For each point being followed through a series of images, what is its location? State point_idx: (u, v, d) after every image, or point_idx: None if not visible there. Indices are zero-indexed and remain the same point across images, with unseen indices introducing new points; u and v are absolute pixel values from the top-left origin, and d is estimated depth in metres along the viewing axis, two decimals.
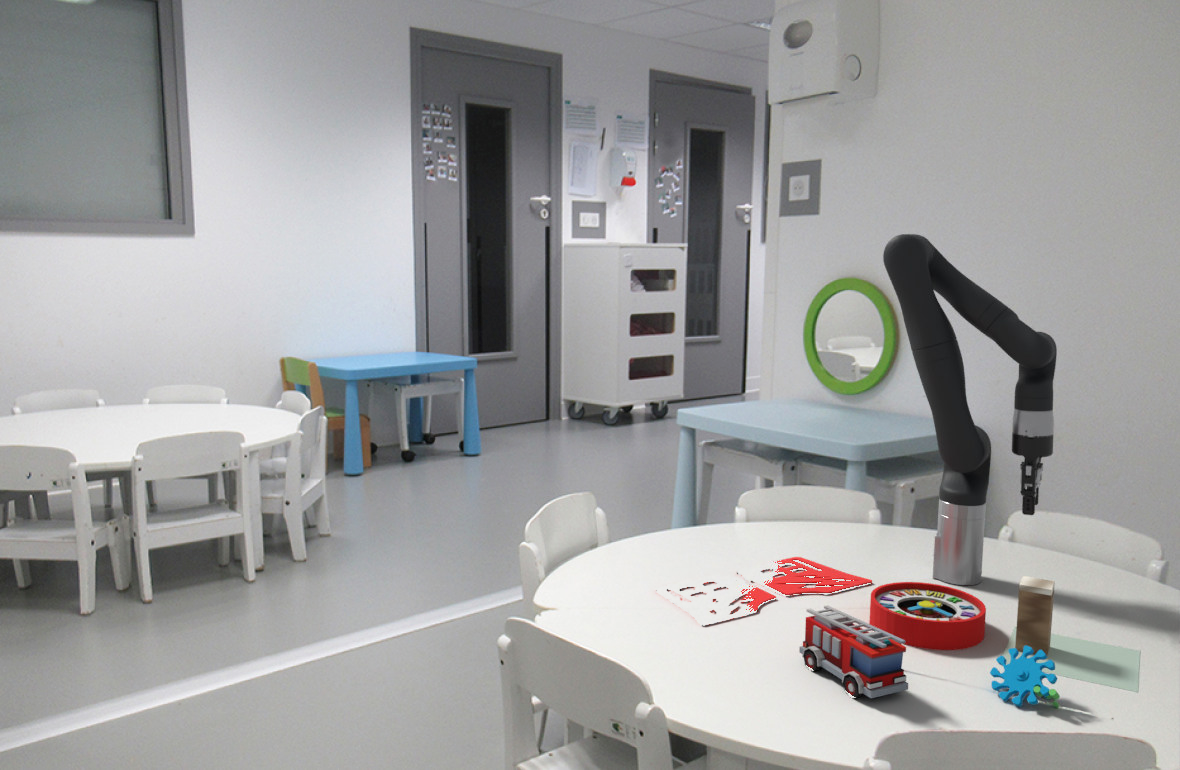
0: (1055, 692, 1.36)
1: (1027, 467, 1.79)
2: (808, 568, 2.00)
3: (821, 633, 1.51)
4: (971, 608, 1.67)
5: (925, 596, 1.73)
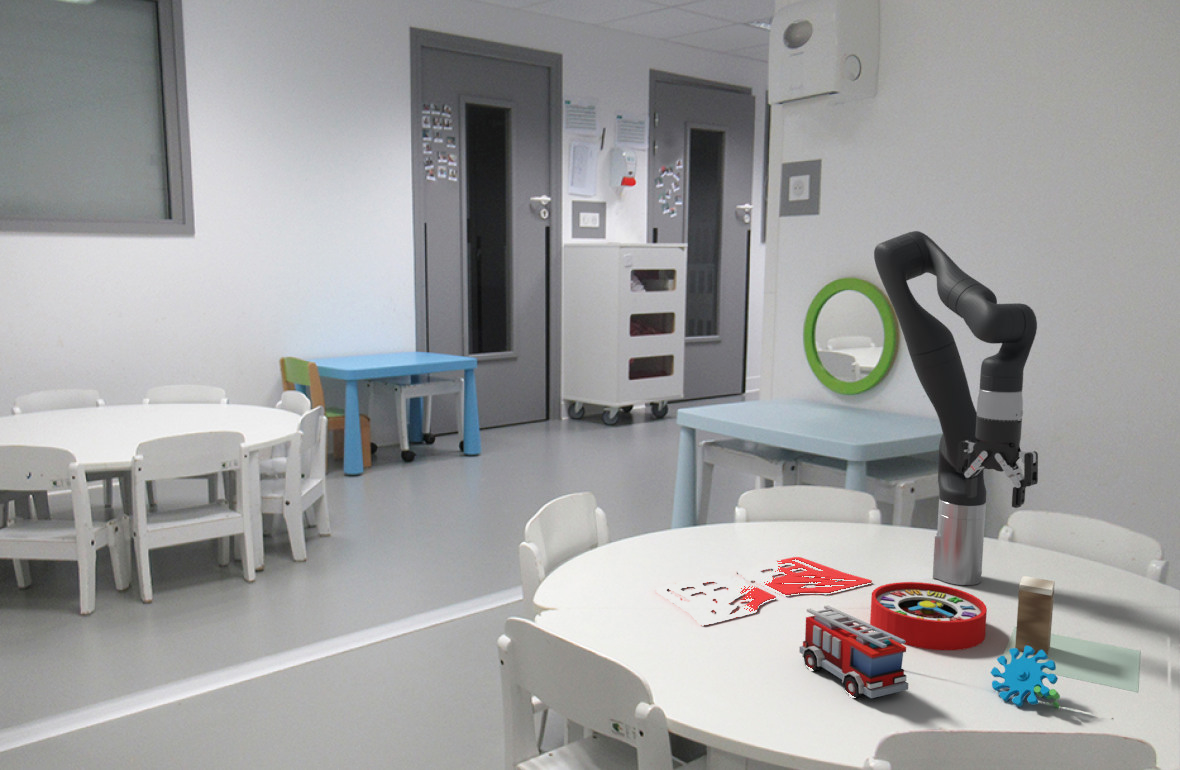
0: (1055, 692, 1.36)
1: (1033, 454, 1.59)
2: (808, 568, 2.00)
3: (821, 633, 1.51)
4: (972, 608, 1.67)
5: (925, 596, 1.73)
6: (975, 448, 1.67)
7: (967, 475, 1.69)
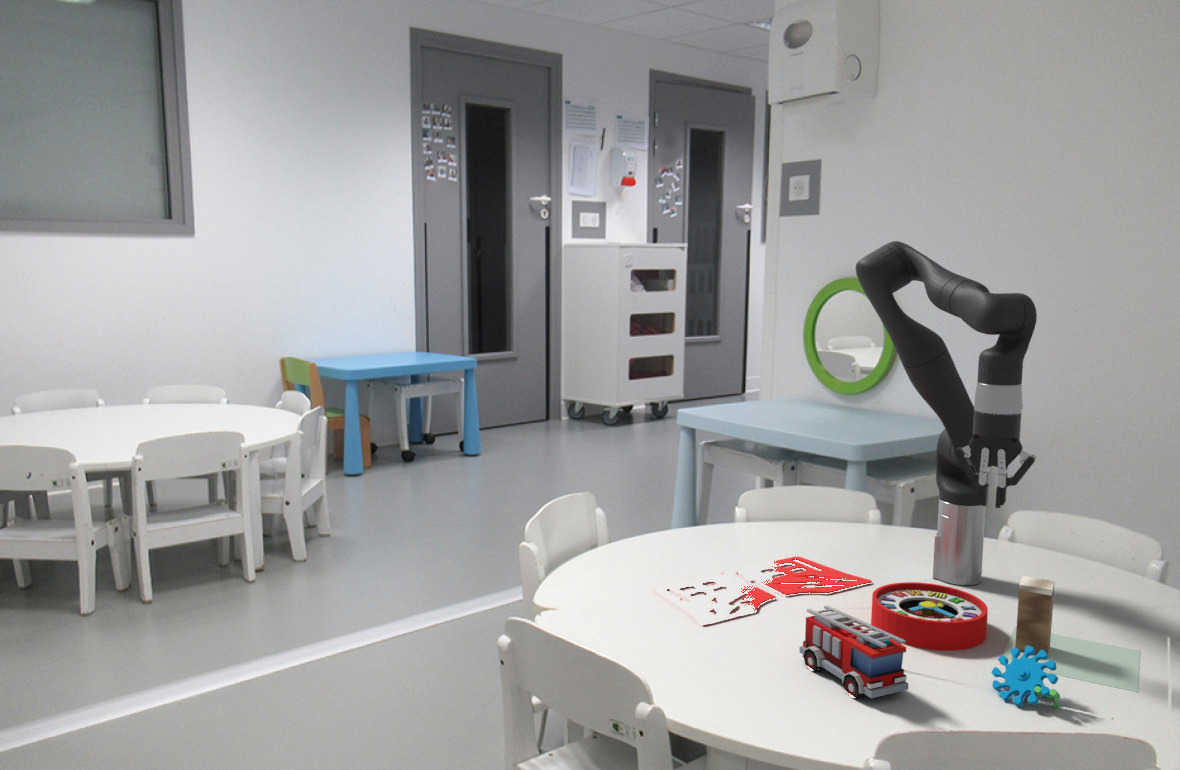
0: (1055, 692, 1.36)
1: (1034, 460, 1.55)
2: (808, 568, 2.00)
3: (821, 633, 1.51)
4: (973, 608, 1.67)
5: (927, 597, 1.73)
6: (973, 447, 1.59)
7: (983, 482, 1.59)
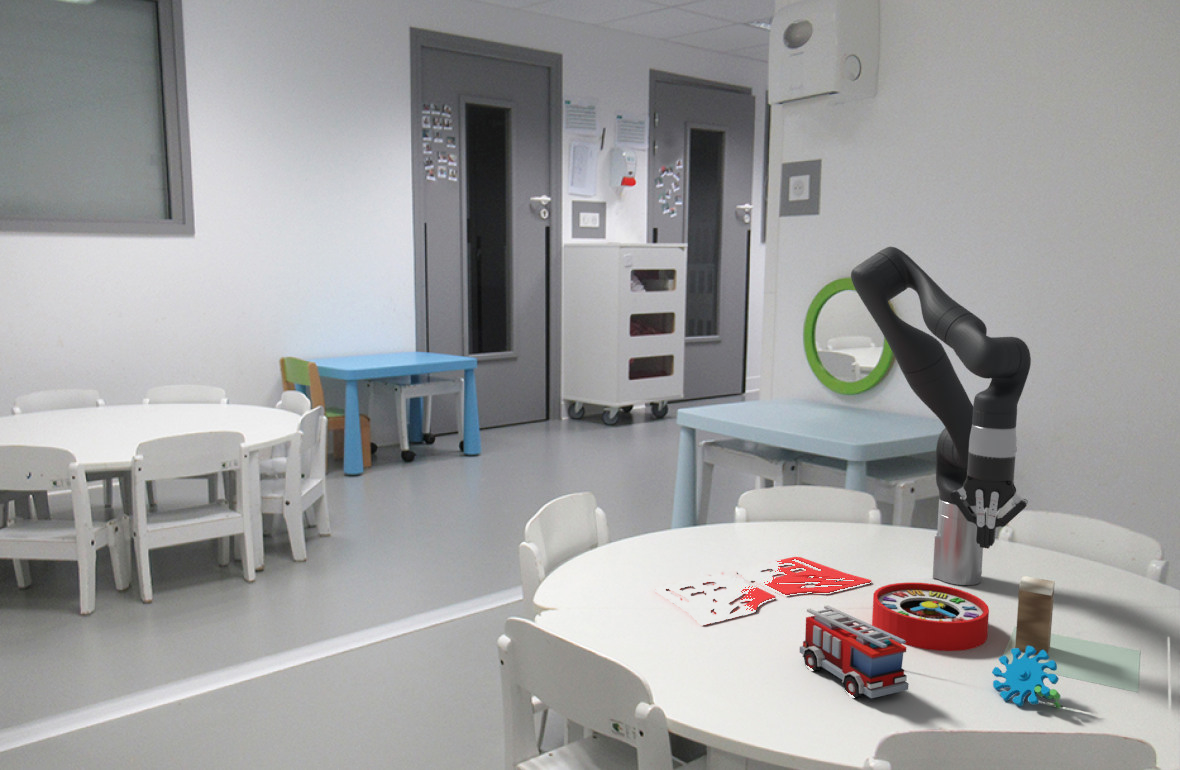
0: (1056, 692, 1.36)
1: (1026, 505, 1.57)
2: (807, 568, 2.00)
3: (821, 633, 1.51)
4: (974, 609, 1.67)
5: (928, 597, 1.73)
6: (967, 488, 1.61)
7: (981, 524, 1.60)
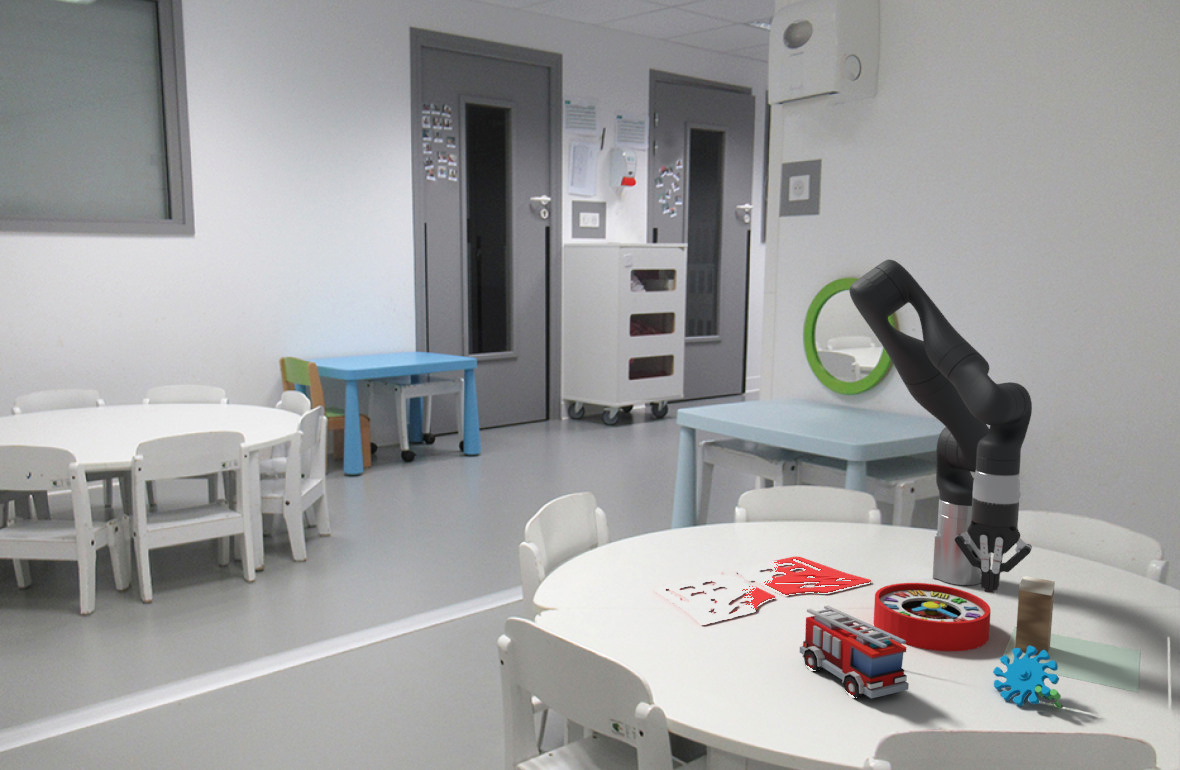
0: (1056, 692, 1.36)
1: (1030, 550, 1.57)
2: (807, 568, 2.00)
3: (821, 633, 1.51)
4: (976, 609, 1.67)
5: (929, 597, 1.73)
6: (972, 533, 1.61)
7: (985, 569, 1.60)
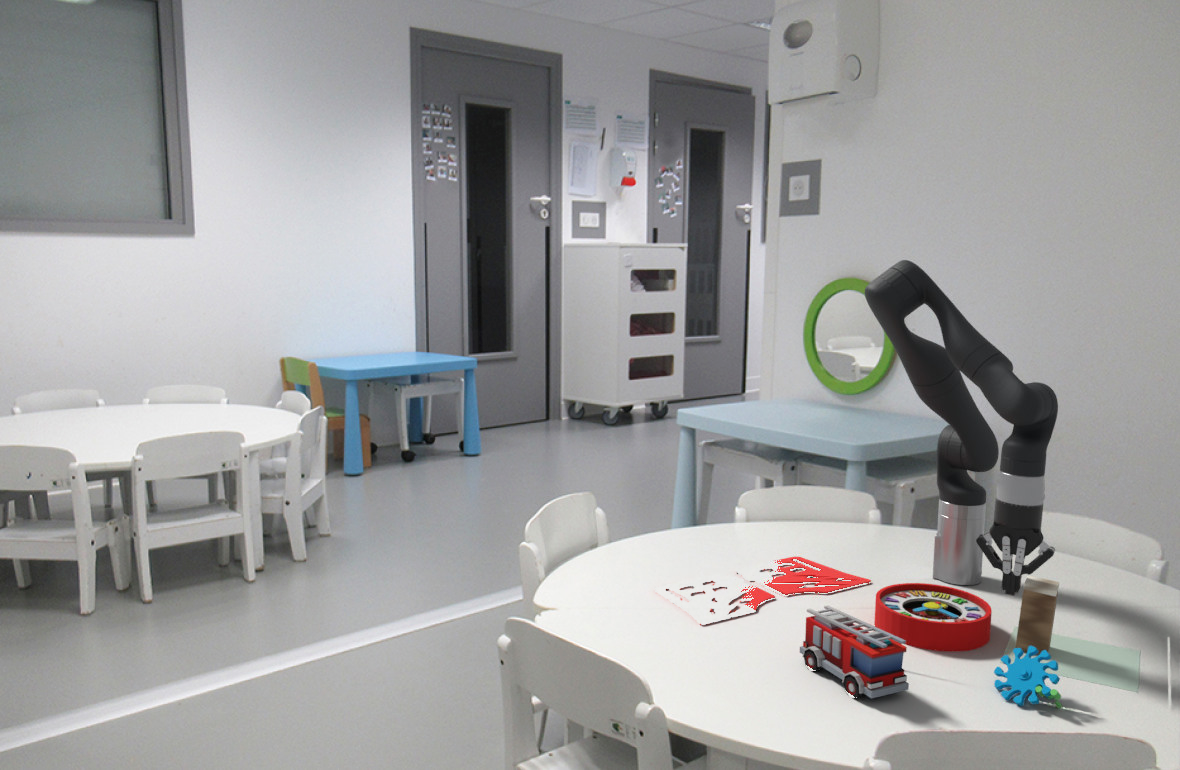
0: (1056, 692, 1.36)
1: (1053, 553, 1.55)
2: (807, 568, 2.00)
3: (821, 633, 1.51)
4: (977, 609, 1.66)
5: (930, 598, 1.73)
6: (994, 534, 1.59)
7: (1007, 571, 1.59)
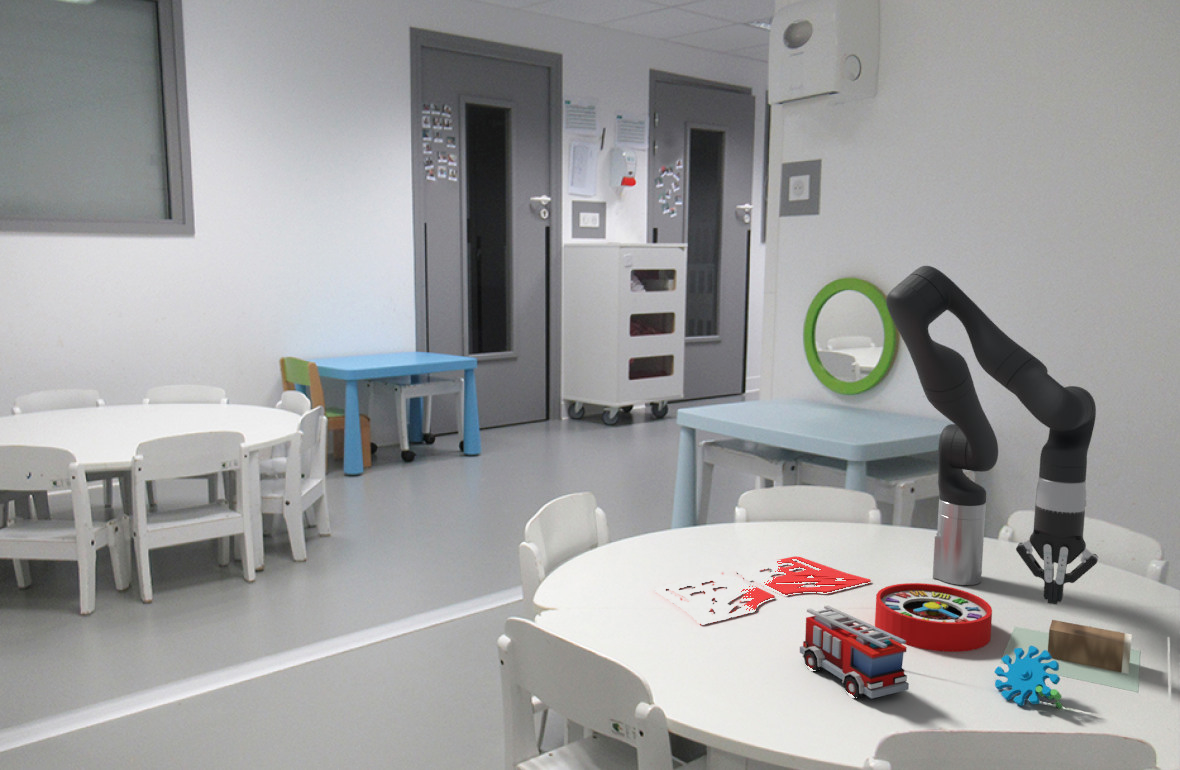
0: (1056, 692, 1.36)
1: (1097, 560, 1.52)
2: (807, 567, 2.00)
3: (821, 633, 1.51)
4: (977, 609, 1.66)
5: (930, 598, 1.73)
6: (1034, 542, 1.56)
7: (1049, 580, 1.55)
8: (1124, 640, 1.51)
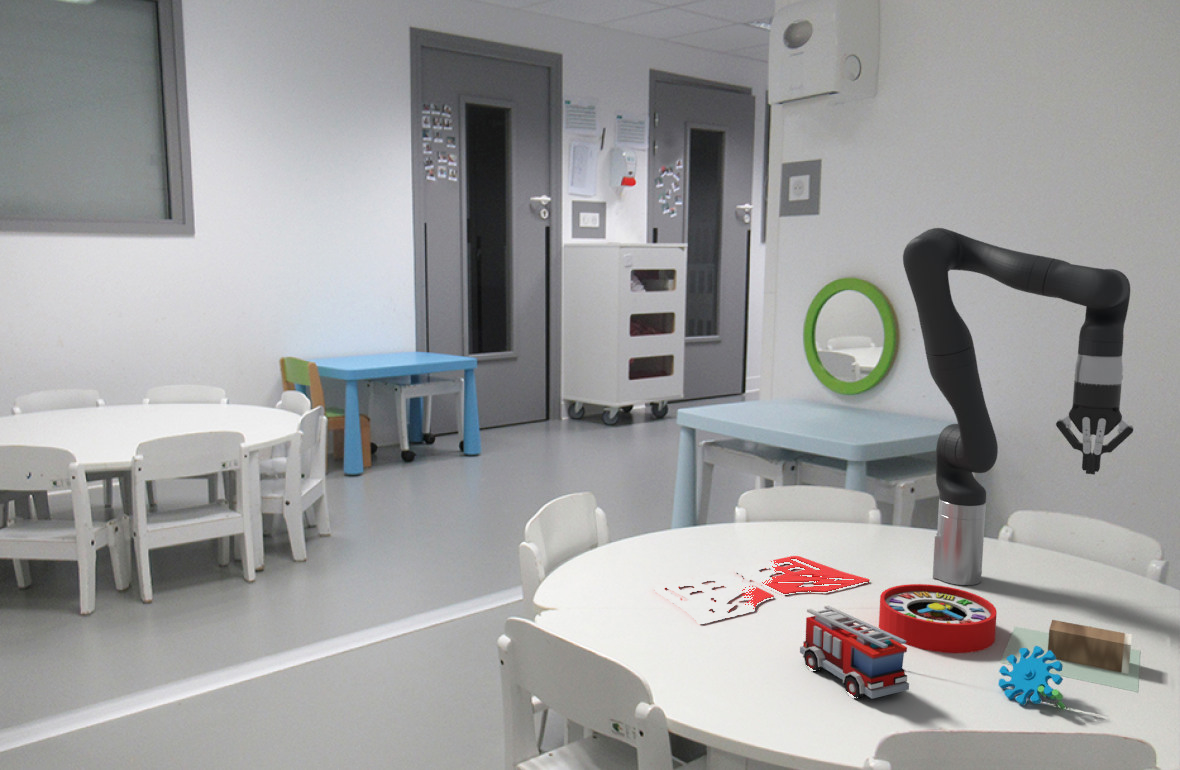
0: (1058, 692, 1.36)
1: None
2: (806, 567, 2.01)
3: (822, 633, 1.51)
4: (981, 611, 1.66)
5: (935, 599, 1.72)
6: (1073, 417, 1.67)
7: (1087, 451, 1.66)
8: (1124, 640, 1.51)
